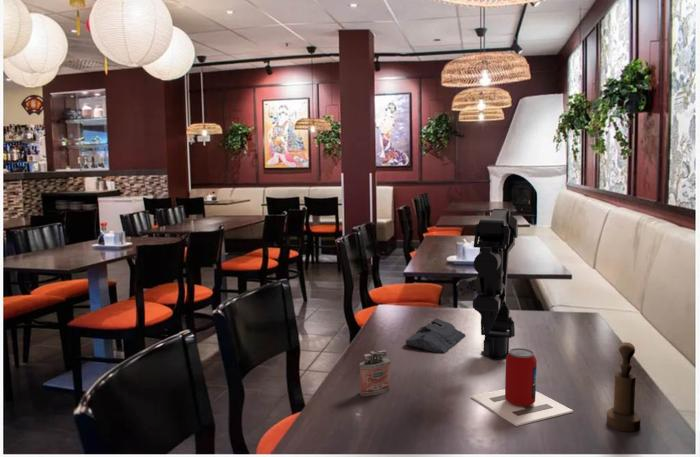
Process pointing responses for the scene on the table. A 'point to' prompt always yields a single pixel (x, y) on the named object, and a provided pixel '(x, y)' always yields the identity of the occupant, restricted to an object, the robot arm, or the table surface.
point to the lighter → (374, 373)
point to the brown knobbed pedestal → (624, 395)
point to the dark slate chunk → (436, 337)
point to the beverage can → (520, 377)
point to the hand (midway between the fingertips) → (489, 328)
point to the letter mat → (518, 414)
